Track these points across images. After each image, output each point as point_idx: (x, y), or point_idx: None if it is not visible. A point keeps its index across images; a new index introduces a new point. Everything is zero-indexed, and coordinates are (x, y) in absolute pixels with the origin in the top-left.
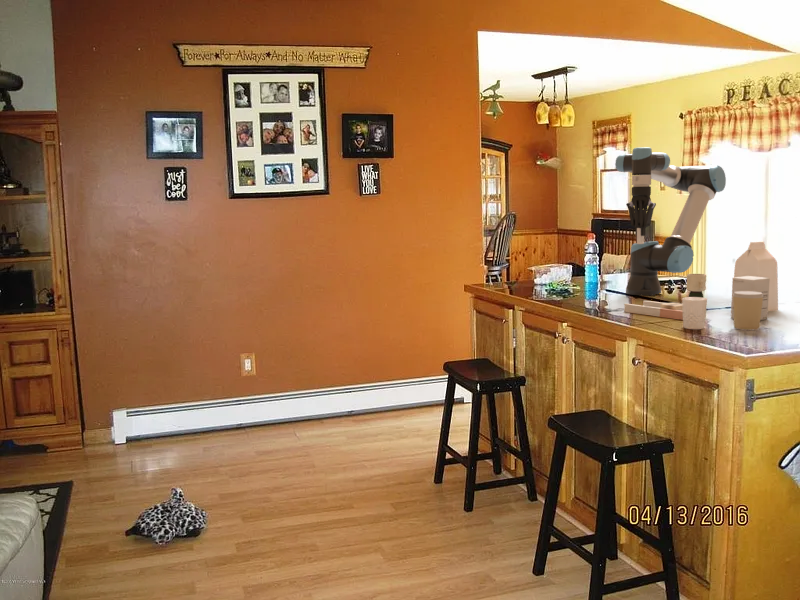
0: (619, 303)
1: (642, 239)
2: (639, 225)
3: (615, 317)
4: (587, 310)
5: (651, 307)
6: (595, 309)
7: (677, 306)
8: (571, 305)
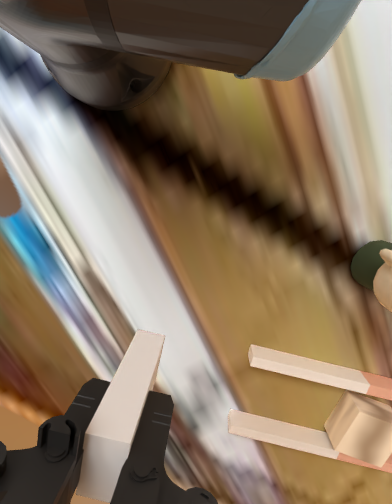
0: (154, 302)
1: (155, 371)
2: (65, 487)
3: (243, 486)
4: None
5: (311, 452)
6: None
7: (384, 460)
8: (72, 390)
